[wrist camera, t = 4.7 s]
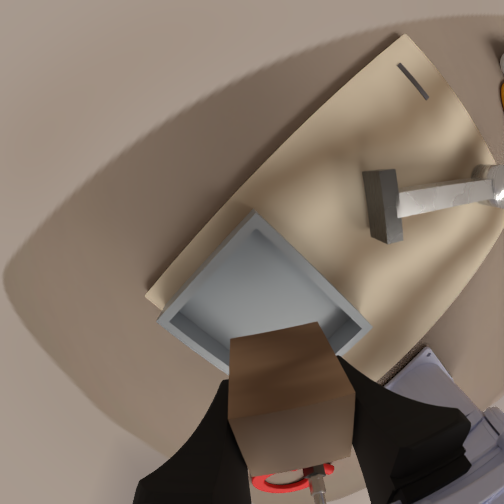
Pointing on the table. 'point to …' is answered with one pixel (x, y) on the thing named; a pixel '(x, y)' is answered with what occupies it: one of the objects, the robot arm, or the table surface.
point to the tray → (257, 296)
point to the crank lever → (425, 197)
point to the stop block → (289, 400)
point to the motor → (503, 90)
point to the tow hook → (300, 482)
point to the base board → (355, 206)
